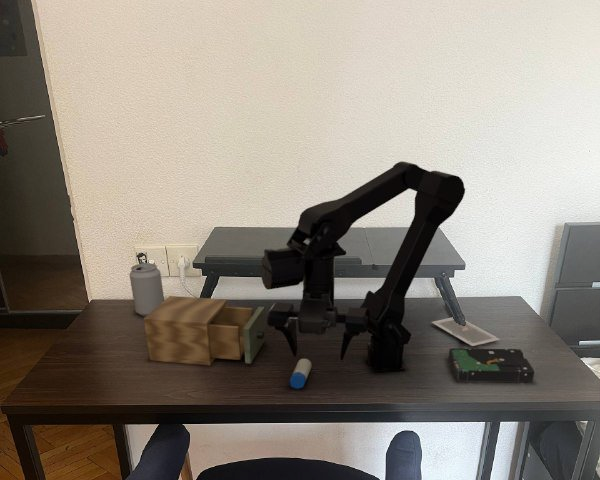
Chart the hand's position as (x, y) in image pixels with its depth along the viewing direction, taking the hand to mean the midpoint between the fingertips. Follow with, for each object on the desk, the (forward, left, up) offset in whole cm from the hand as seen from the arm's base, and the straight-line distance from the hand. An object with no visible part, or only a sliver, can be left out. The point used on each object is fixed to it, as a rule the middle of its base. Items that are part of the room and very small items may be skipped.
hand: (318, 357), depth 113 cm
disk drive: (-35, +2, -5) cm, 35 cm away
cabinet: (+25, -19, -5) cm, 32 cm away
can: (+36, -43, -5) cm, 56 cm away
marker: (+2, -1, -2) cm, 3 cm away
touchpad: (-37, -16, -5) cm, 41 cm away
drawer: (+16, -15, -4) cm, 23 cm away
